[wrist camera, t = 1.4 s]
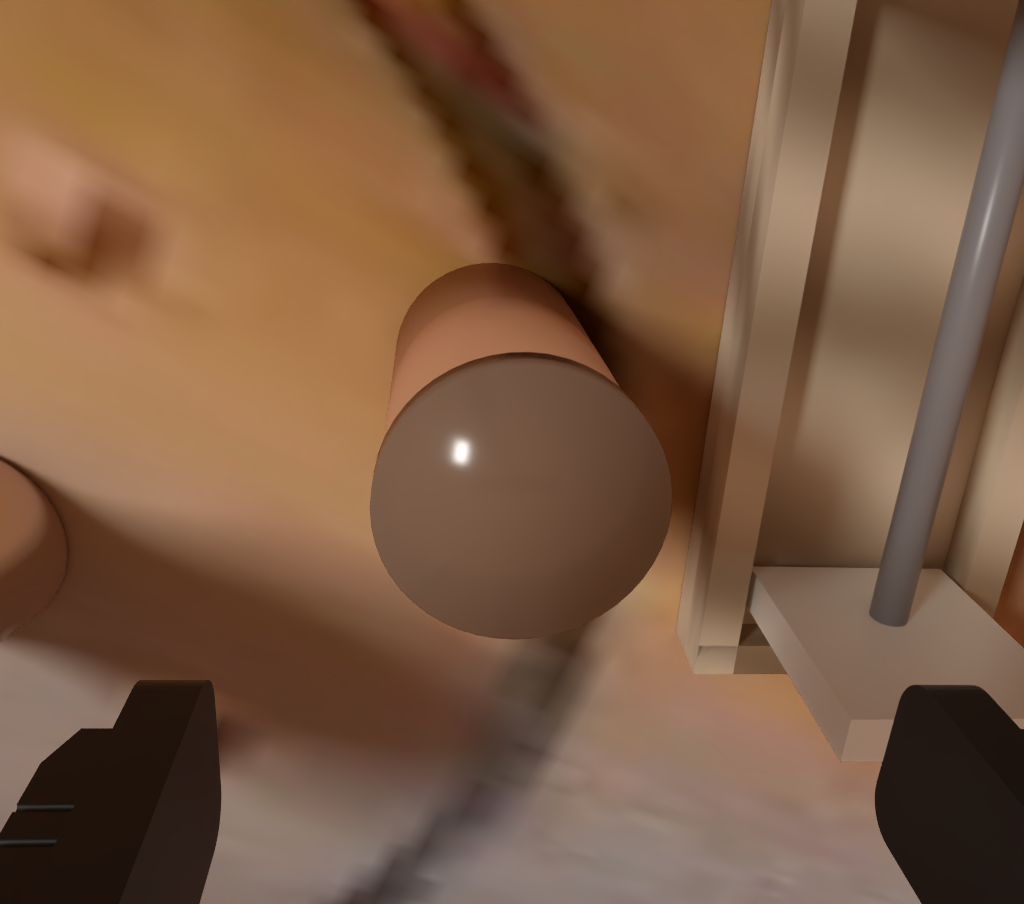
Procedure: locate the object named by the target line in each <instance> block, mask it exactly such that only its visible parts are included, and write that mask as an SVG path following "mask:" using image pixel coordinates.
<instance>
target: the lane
mask: <svg viewBox="0 0 1024 904" xmlns="http://www.w3.org/2000/svg"><path fill="white" fill-rule="evenodd" d="M1018 1H1019V0H772V6H771V13H770V19H769V26H768V32H767V39H766V45H765V52H764V59H763V65H762V72H761V78H760V85H759V91H758V98H757V104H756V111H755V118H754V124H753V131H752V137H751V144H750V150H749V157H748V163H747V170H746V177H745V183H744V190H743V196H742V203H741V209H740V216H739V222H738V229H737V236H736V242H735V249H734V255H733V262H732V268H731V275H730V281H729V288H728V295H727V301H726V308H725V314H724V321H723V327H722V334H721V340H720V347H719V354H718V360H717V367H716V373H715V380H714V386H713V393H712V399H711V406H710V413H709V419H708V426H707V432H706V439H705V445H704V452H703V458H702V465H701V472H700V478H699V485H698V491H697V498H696V504H695V511H694V517H693V524H692V531H691V537H690V544H689V550H688V557H687V563H686V570H685V576H684V583H683V590H682V596H681V603H680V609H679V616H678V622H677V629H676V634H677V636H678V638H679V641H680V643H681V645H682V647H683V650H684V652H685V654H686V656H687V659H688V661H689V663H690V665H691V668H692V670H693V672H694V674H787V672H786V671H785V669H784V667H783V666H782V664H781V662H780V661H779V659H778V657H777V656H776V654H775V652H774V651H773V649H772V647H771V646H770V644H769V642H768V641H767V639H766V637H765V636H764V634H763V633H762V631H761V629H760V628H759V626H758V624H757V623H756V621H755V619H754V618H753V616H752V614H751V613H750V611H749V609H748V608H747V606H746V601H747V595H748V590H749V584H750V579H751V574H752V568H753V566H760V567H836V568H880V564H881V560H882V556H883V552H884V548H885V544H886V540H887V536H888V532H889V528H890V524H891V520H892V515H893V511H894V507H895V503H896V499H897V495H898V491H899V487H900V483H901V479H902V475H903V471H904V466H905V462H906V458H907V454H908V450H909V446H910V442H911V438H912V434H913V430H914V426H915V422H916V417H917V413H918V409H919V405H920V401H921V397H922V393H923V389H924V385H925V381H926V377H927V373H928V368H929V364H930V360H931V356H932V352H933V348H934V344H935V340H936V336H937V332H938V328H939V324H940V319H941V315H942V311H943V307H944V303H945V299H946V295H947V291H948V287H949V283H950V279H951V275H952V270H953V266H954V262H955V258H956V254H957V250H958V246H959V242H960V238H961V234H962V230H963V226H964V221H965V217H966V213H967V209H968V205H969V201H970V197H971V193H972V189H973V185H974V181H975V177H976V172H977V168H978V164H979V160H980V156H981V152H982V148H983V144H984V140H985V136H986V132H987V128H988V123H989V119H990V115H991V111H992V107H993V103H994V99H995V95H996V91H997V87H998V83H999V79H1000V74H1001V70H1002V66H1003V62H1004V58H1005V54H1006V50H1007V46H1008V42H1009V38H1010V34H1011V30H1012V25H1013V21H1014V17H1015V13H1016V9H1017V5H1018ZM1023 520H1024V185H1023V188H1022V192H1021V196H1020V200H1019V204H1018V207H1017V211H1016V215H1015V219H1014V222H1013V226H1012V230H1011V234H1010V238H1009V241H1008V245H1007V249H1006V253H1005V256H1004V260H1003V264H1002V268H1001V271H1000V275H999V279H998V283H997V287H996V290H995V294H994V298H993V302H992V305H991V309H990V313H989V317H988V321H987V324H986V328H985V332H984V336H983V339H982V343H981V347H980V351H979V354H978V358H977V362H976V366H975V370H974V373H973V377H972V381H971V385H970V388H969V392H968V396H967V400H966V404H965V407H964V411H963V415H962V419H961V422H960V426H959V430H958V434H957V437H956V441H955V445H954V449H953V453H952V456H951V460H950V464H949V468H948V471H947V475H946V479H945V483H944V487H943V490H942V494H941V498H940V502H939V505H938V509H937V513H936V517H935V520H934V524H933V528H932V532H931V536H930V539H929V543H928V547H927V551H926V554H925V558H924V562H923V566H922V569H941V570H942V571H943V572H944V573H945V574H946V575H947V576H948V577H949V578H950V579H951V580H952V581H954V582H955V583H956V584H957V585H958V586H959V587H960V588H961V589H962V590H963V591H964V592H965V593H966V594H967V595H968V596H969V597H970V598H971V599H972V600H973V601H975V602H976V603H977V604H978V605H979V606H980V607H981V608H982V609H983V610H984V611H985V612H986V613H987V614H988V615H989V616H990V617H991V618H992V619H993V618H994V615H995V612H996V608H997V605H998V602H999V599H1000V595H1001V592H1002V589H1003V586H1004V582H1005V579H1006V576H1007V572H1008V569H1009V566H1010V563H1011V559H1012V556H1013V553H1014V550H1015V546H1016V543H1017V540H1018V537H1019V533H1020V530H1021V527H1022V524H1023Z"/></svg>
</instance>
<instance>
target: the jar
mask: <svg viewBox="0 0 1024 904" xmlns="http://www.w3.org/2000/svg"><path fill="white" fill-rule="evenodd" d="M671 510H672V482H671V475H670V471H669V466H668V462H667V459H666V456H665V453H664V451H663V448H662V446H661V443H660V441H659V440H658V438H657V436H656V434H655V433H654V431H653V429H652V427H651V426H650V424H649V423H648V421H647V420H646V418H645V416H644V415H643V413H642V412H641V411H640V409H639V408H638V407H637V405H636V404H635V403H634V401H633V400H632V399H631V398H630V397H629V396H628V395H627V394H626V393H625V392H624V391H623V390H622V389H621V388H620V387H619V385H618V384H617V382H616V380H615V379H614V377H613V376H612V374H611V372H610V371H609V369H608V367H607V366H606V364H605V363H604V361H603V359H602V358H601V356H600V355H599V353H598V351H597V350H596V348H595V347H594V345H593V343H592V342H591V340H590V339H589V337H588V335H587V334H586V332H585V330H584V329H583V327H582V326H581V324H580V322H579V321H578V319H577V318H576V316H575V314H574V313H573V311H572V310H571V308H570V306H569V305H568V303H567V302H566V301H565V299H564V298H563V297H562V295H561V294H560V293H559V292H558V291H557V290H556V289H555V288H554V287H553V286H552V285H550V284H549V283H548V282H547V281H545V280H544V279H543V278H541V277H539V276H537V275H536V274H534V273H532V272H530V271H527V270H525V269H522V268H520V267H516V266H512V265H508V264H499V263H481V264H475V265H469V266H465V267H462V268H459V269H456V270H454V271H451V272H449V273H447V274H445V275H443V276H442V277H440V278H438V279H437V280H435V281H434V282H433V283H431V284H430V285H429V286H428V287H426V288H425V289H424V290H423V291H422V293H421V294H420V295H419V296H418V297H417V298H416V299H415V301H414V302H413V303H412V305H411V306H410V308H409V310H408V311H407V313H406V315H405V317H404V319H403V322H402V325H401V327H400V330H399V335H398V339H397V346H396V353H395V361H394V368H393V376H392V383H391V391H390V398H389V406H388V413H387V420H386V428H385V435H384V439H383V442H382V445H381V447H380V450H379V453H378V456H377V461H376V465H375V470H374V475H373V482H372V489H371V501H370V515H371V527H372V532H373V536H374V541H375V545H376V547H377V550H378V552H379V555H380V558H381V560H382V562H383V564H384V566H385V567H386V569H387V571H388V573H389V575H390V576H391V578H392V579H393V580H394V582H395V583H396V584H397V586H398V587H399V588H400V590H401V591H402V592H403V593H404V594H405V595H406V596H407V597H408V598H409V599H410V600H411V601H412V602H413V603H415V604H416V605H417V606H418V607H420V608H421V609H422V610H424V611H425V612H426V613H428V614H429V615H431V616H433V617H434V618H436V619H438V620H439V621H441V622H443V623H445V624H447V625H450V626H452V627H454V628H457V629H459V630H462V631H465V632H469V633H472V634H475V635H480V636H486V637H491V638H500V639H530V638H538V637H544V636H550V635H554V634H557V633H561V632H565V631H568V630H571V629H573V628H576V627H578V626H581V625H583V624H586V623H588V622H589V621H591V620H593V619H595V618H597V617H599V616H601V615H602V614H604V613H605V612H607V611H608V610H610V609H611V608H612V607H614V606H615V605H617V604H618V603H619V602H620V601H621V600H623V599H624V598H625V597H626V596H627V595H628V594H629V593H630V592H631V591H632V590H633V589H634V588H635V587H636V586H637V585H638V584H639V582H640V581H641V580H642V579H643V578H644V576H645V575H646V574H647V572H648V571H649V569H650V568H651V566H652V565H653V563H654V561H655V559H656V557H657V556H658V554H659V552H660V550H661V548H662V545H663V542H664V540H665V537H666V534H667V531H668V527H669V522H670V517H671Z"/></svg>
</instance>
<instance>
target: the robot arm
mask: <svg viewBox="0 0 1024 904" xmlns="http://www.w3.org/2000/svg"><path fill="white" fill-rule="evenodd" d="M875 810H876V816H877V821H878V825H879V828H880V832H881V834H882V837H883V839H884V841H885V843H886V845H887V847H888V848H889V850H890V852H891V853H892V855H893V857H894V858H895V860H896V862H897V863H898V865H899V867H900V868H901V870H902V872H903V873H904V875H905V877H906V878H907V880H908V882H909V883H910V885H911V887H912V888H913V890H914V892H915V893H916V895H917V897H918V898H919V900H920V902H921V903H922V904H1024V729H1020V728H1019V727H1018V726H1017V724H1016V723H1015V722H1014V721H1013V720H1012V719H1011V718H1010V717H1009V716H1008V715H1007V714H1006V712H1005V711H1004V710H1003V709H1002V708H1001V707H1000V706H999V705H998V704H997V703H996V702H995V700H994V699H993V698H992V697H991V696H990V695H989V694H988V693H987V692H986V691H985V690H984V689H982V688H980V687H978V686H975V685H911V686H909V687H908V688H906V690H905V691H904V692H903V694H902V695H901V698H900V701H899V704H898V707H897V711H896V715H895V718H894V722H893V726H892V729H891V733H890V736H889V740H888V744H887V747H886V751H885V755H884V758H883V762H882V766H881V769H880V773H879V777H878V780H877V784H876V790H875ZM220 812H221V780H220V766H219V752H218V738H217V724H216V710H215V697H214V690H213V686H212V683H211V682H210V681H209V680H140V681H138V682H137V683H136V684H135V685H134V687H133V689H132V691H131V693H130V695H129V697H128V699H127V701H126V703H125V705H124V707H123V709H122V711H121V713H120V715H119V717H118V719H117V721H116V723H115V725H114V727H113V729H80V730H79V731H78V732H77V733H76V734H74V735H73V736H72V737H71V738H70V739H69V740H67V741H66V742H65V743H64V744H63V745H61V746H60V747H59V748H58V749H57V750H56V751H54V752H53V753H52V754H51V755H50V756H49V757H47V758H46V759H45V760H44V761H43V762H41V764H40V765H39V767H38V769H37V771H36V772H35V774H34V776H33V777H32V779H31V781H30V783H29V784H28V786H27V788H26V790H25V791H24V793H23V795H22V796H21V798H20V800H19V802H18V803H17V810H16V812H12V814H11V815H10V817H9V819H8V821H7V822H6V824H5V826H4V828H3V829H2V831H1V833H0V904H199V903H200V900H201V896H202V893H203V889H204V886H205V882H206V879H207V875H208V872H209V868H210V865H211V861H212V858H213V854H214V850H215V846H216V842H217V836H218V830H219V823H220Z"/></svg>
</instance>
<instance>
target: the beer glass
mask: <svg viewBox="0 0 1024 904" xmlns="http://www.w3.org/2000/svg"><path fill="white" fill-rule="evenodd" d="M66 565H67V541H66V536H65V532H64V529H63V526H62V523H61V521H60V518H59V516H58V514H57V512H56V510H55V509H54V507H53V505H52V504H51V502H50V501H49V500H48V498H47V497H46V496H45V494H44V493H43V492H42V491H41V490H40V489H39V488H38V487H37V486H36V485H35V484H34V483H33V482H32V481H31V480H30V479H29V478H28V477H27V476H25V475H24V474H23V473H21V472H20V471H19V470H17V469H16V468H14V467H13V466H11V465H10V464H8V463H6V462H4V461H3V460H1V459H0V643H2V642H3V641H4V640H5V639H6V638H7V637H8V636H10V635H11V634H12V633H14V632H15V631H16V630H18V629H19V628H20V627H22V626H23V625H24V624H26V623H27V622H28V621H30V620H31V619H32V618H33V617H35V616H36V615H37V614H38V613H39V612H41V611H42V610H43V609H44V608H45V607H46V606H47V605H48V603H49V602H50V601H51V600H52V599H53V597H54V596H55V594H56V593H57V591H58V589H59V588H60V585H61V583H62V581H63V578H64V574H65V570H66Z"/></svg>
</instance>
